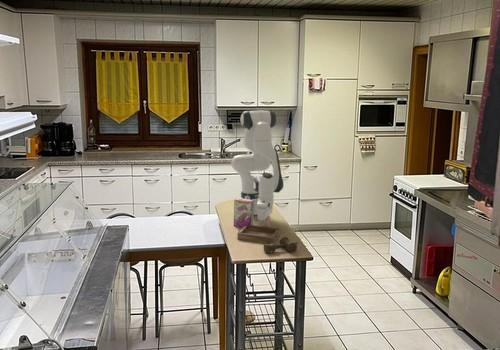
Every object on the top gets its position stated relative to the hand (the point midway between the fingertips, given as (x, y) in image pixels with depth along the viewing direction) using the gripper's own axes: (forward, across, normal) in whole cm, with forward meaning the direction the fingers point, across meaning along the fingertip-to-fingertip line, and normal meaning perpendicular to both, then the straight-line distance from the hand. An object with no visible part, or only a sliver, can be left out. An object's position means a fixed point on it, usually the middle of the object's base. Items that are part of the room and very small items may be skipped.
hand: (265, 223), depth 263 cm
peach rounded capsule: (+4, 0, 0) cm, 4 cm away
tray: (+4, +13, 0) cm, 13 cm away
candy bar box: (+4, -2, -14) cm, 15 cm away
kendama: (+4, +28, +17) cm, 33 cm away
